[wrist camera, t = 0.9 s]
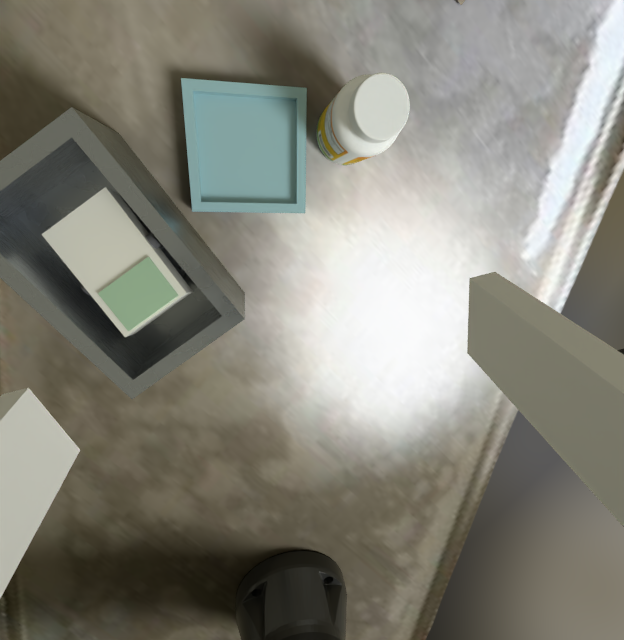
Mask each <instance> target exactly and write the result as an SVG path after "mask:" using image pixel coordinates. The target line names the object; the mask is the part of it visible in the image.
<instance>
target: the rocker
mask: <svg viewBox="0 0 624 640" xmlns="http://www.w3.org/2000/svg"><path fill="white" fill-rule="evenodd" d="M42 236H43V237H44V238H45V239H46V241H47V242H48V243H49V244H50V246H51V247H52V248H53V249H54V251H55V252H56V253H57V254H58V255H59V257H60V258H61V259H62V260H63V262H64V263H65V264H66V265H67V267H68V268H69V269H70V270H71V271H72V273H73V274H74V275H75V276H76V278H77V279H78V280H79V281H80V283H81V284H80V287H81V289H82V290H83V291H84V292H85V293H86V294H88V295H90V296H92V297H93V299H94V300H95V301H96V302H97V304H98V305H99V306H100V307H101V308H102V310H103V311H104V312H105V313H106V315H107V316H108V317H109V318H110V320H111V321H112V322H113V323H114V324H115V326H116V327H117V328H118V329H119V331H120V332H121V333H122V334H123V336H124V337H127V336H130V335H133V334H135V333H137V332H138V331H140V330H141V329H142V328H144V327H145V326H146V325H148V324H149V323H151V322H152V321H153V320H155V319H156V318H158V317H159V316H160V315H162V314H163V313H164V312H166V311H167V310H169V309H170V308H171V307H173V306H174V305H176V304H177V303H178V302H180V301H181V300H183V299H184V298H185V297H187V296H188V295H189V294H191V293H192V292H193V291H192V290H191V288H190V287H189V286H188V284H187V283H186V282H185V280H184V279H183V278H182V276H181V275H180V274H179V272H178V271H177V270H176V269H175V267H174V266H173V265H172V263H171V262H170V261H169V259H168V258H167V257H166V255H165V254H164V253H163V251H162V250H161V249H160V248H159V247H160V246H161V243H160V241H159V240H158V239H157V238H156V237H155V236H154V234H152V233H150V234H149V233H148V232H147V230H146V229H145V228H144V226H143V225H142V224H141V223H140V221H139V220H138V219H137V217H136V216H135V215H134V213H133V212H132V211H131V209H130V208H129V207H128V205H127V204H126V203H125V202H124V200H123V199H122V198H121V196H120V195H119V194H118V192H115V191H113V190H111V189H109V188H107V187H105V188H103V189H102V190H101V191H99V192H98V193H97V194H95V195H94V196H93V197H91V198H90V199H89V200H87V201H86V202H85V203H83V204H82V205H81V206H79V207H78V208H76V209H75V210H74V211H72V212H71V213H70V214H68V215H67V216H66V217H64V218H63V219H62V220H60V221H59V222H58V223H56V224H55V225H54V226H52V227H51V228H50V229H48V230H47V231H45V232H44V233H43V234H42Z"/></svg>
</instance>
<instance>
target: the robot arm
mask: <svg viewBox="0 0 624 640" xmlns="http://www.w3.org/2000/svg"><path fill="white" fill-rule="evenodd" d="M468 354H469V355H470V356H471V357H472V358H473V360H474V361H475V362H476V363H477V364H478V365H479V366H480V367H481V368H482V370H483V371H484V372H485V373H486V374H487V375H488V376H489V377H490V379H491V380H492V381H493V382H494V383H495V384H496V385H497V386H498V387H499V389H500V390H501V391H502V392H503V393H504V394H505V395H506V396H507V397H508V399H509V400H510V401H511V402H512V403H513V404H514V405H515V406H516V408H517V409H518V410H519V411H520V412H521V413H522V414H523V415H524V416H525V417H526V419H527V420H528V421H529V422H530V423H531V424H532V425H533V426H534V428H535V429H536V430H537V431H538V432H539V433H540V434H541V435H542V436H543V437H544V439H545V440H546V441H547V442H548V443H549V444H550V445H551V446H552V448H553V449H554V450H555V451H556V452H557V453H558V454H559V455H560V457H561V458H562V459H563V460H564V461H565V462H566V463H567V464H568V465H569V466H570V468H571V469H572V470H573V471H574V472H575V473H576V474H577V475H578V477H579V478H580V479H581V480H582V481H583V482H584V483H585V484H586V486H587V487H588V488H589V489H590V490H591V491H592V492H593V493H594V494H595V496H597V498H598V499H599V500H600V501H601V502H602V503H603V504H604V506H605V507H606V508H607V509H608V510H609V511H610V512H611V513H612V514H613V516H614V517H615V518H616V519H617V520H618V521H619V522H620V523H621V525H622V526H623V527H624V349H621V350H616V349H614V348H612V347H611V346H609V345H608V344H606V343H605V342H603V341H602V340H600V339H598V338H597V337H595V336H594V335H592V334H591V333H589V332H587V331H586V330H584V329H583V328H581V327H580V326H578V325H577V324H575V323H574V322H572V321H570V320H569V319H567V318H566V317H564V316H563V315H561V314H560V313H558V312H557V311H555V310H553V309H552V308H550V307H549V306H547V305H546V304H544V303H543V302H541V301H539V300H538V299H536V298H535V297H533V296H532V295H530V294H529V293H527V292H525V291H524V290H522V289H521V288H519V287H518V286H516V285H515V284H513V283H511V282H510V281H508V280H507V279H505V278H504V277H502V276H501V275H499V274H497V273H496V272H493V273H489V274H485V275H481V276H477V277H473V278H470V285H469V319H468ZM79 451H80V449H79V448H78V447H77V446H76V444H75V443H74V442H73V441H72V440H71V438H70V437H69V436H68V435H67V434H66V432H65V431H64V430H63V429H62V428H61V426H60V425H59V424H58V423H57V422H56V420H55V419H54V418H53V417H52V416H51V414H50V413H49V412H48V411H47V409H46V408H45V407H44V406H43V405H42V403H41V402H40V401H39V400H38V399H37V397H36V396H35V395H34V394H33V393H32V391H31V390H30V389H29V388H26V389H22V390H18V391H14V392H10V393H6V394H2V395H1V396H0V598H1V596H2V594H3V593H4V591H5V589H6V587H7V585H8V583H9V581H10V580H11V578H12V576H13V574H14V572H15V570H16V568H17V567H18V565H19V563H20V561H21V559H22V557H23V555H24V554H25V552H26V550H27V548H28V546H29V544H30V542H31V541H32V539H33V537H34V535H35V533H36V531H37V529H38V528H39V526H40V524H41V522H42V520H43V518H44V516H45V515H46V513H47V511H48V509H49V507H50V505H51V503H52V502H53V500H54V498H55V496H56V494H57V492H58V490H59V489H60V487H61V485H62V483H63V481H64V479H65V477H66V476H67V474H68V472H69V470H70V468H71V466H72V464H73V463H74V461H75V459H76V457H77V455H78V453H79ZM346 604H347V594H346V587H345V583H344V579H343V576H342V572H341V570H340V568H339V566H338V565H337V564H336V563H335V562H334V561H333V560H332V559H330V558H329V557H327V556H325V555H322V554H320V553H316V552H310V551H294V552H288V553H283V554H280V555H277V556H274V557H272V558H269V559H267V560H265V561H264V562H262V563H260V564H259V565H257V566H256V567H255V568H253V569H252V570H251V571H250V572H249V573H248V574H247V575H246V576H245V578H244V579H243V580H242V582H241V584H240V586H239V588H238V591H237V595H236V621H237V626H238V629H239V633H240V636H241V639H242V640H345V636H346Z"/></svg>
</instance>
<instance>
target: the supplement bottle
mask: <svg viewBox="0 0 624 640" xmlns="http://www.w3.org/2000/svg"><path fill="white" fill-rule="evenodd" d="M409 110H410V102H409V96H408V93H407V90H406V88H405V87H404V85H403V84H402V82H401V81H400V80H399V79H398V78H396V77H395V76H393V75H391V74H387V73H377V74H374V75H361V76H358V77H356V78H354V79H352V80H351V81H349V82H348V83H347V84H346V85H345V86H344V87H343V88H342V89H341V90H340V91H339V93H338V94H337V95H336V96H335V98H334V99H333V100H332V101H331V102H330V103H329V105H328V106H327V107H326V108H325V110H324V111H323V113H322V114H321V116H320V118H319V121H318V124H317V141H318V145H319V147H320V149H321V151H322V153H323V154H324V155H325V156H326V158H328V159H329V160H330V161H332V162H334V163H336V164H339V165H350V164H354V163H357V162H359V161H362V160H364V159H367V158H370V157H373V156H376V155H378V154H380V153H382V152H383V151H385V150H386V149H387V148H389V147H390V146H391V145H392V143H393V142H394V141H395V139H396V138H397V136H398V134H399V132H400V131H401V130H402V128H403V127H404V125H405V123H406V121H407V119H408V116H409Z"/></svg>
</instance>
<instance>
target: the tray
mask: <svg viewBox="0 0 624 640" xmlns="http://www.w3.org/2000/svg"><path fill="white" fill-rule="evenodd" d="M181 84H182V96H183V108H184V120H185V132H186V144H187V156H188V167H189V179H190V191H191V203H192V211H194V212H262V213H305V197H306V109H307V88H302V87H289V86H276V85H263V84H251V83H238V82H225V81H212V80H200V79H187V78H181Z"/></svg>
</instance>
